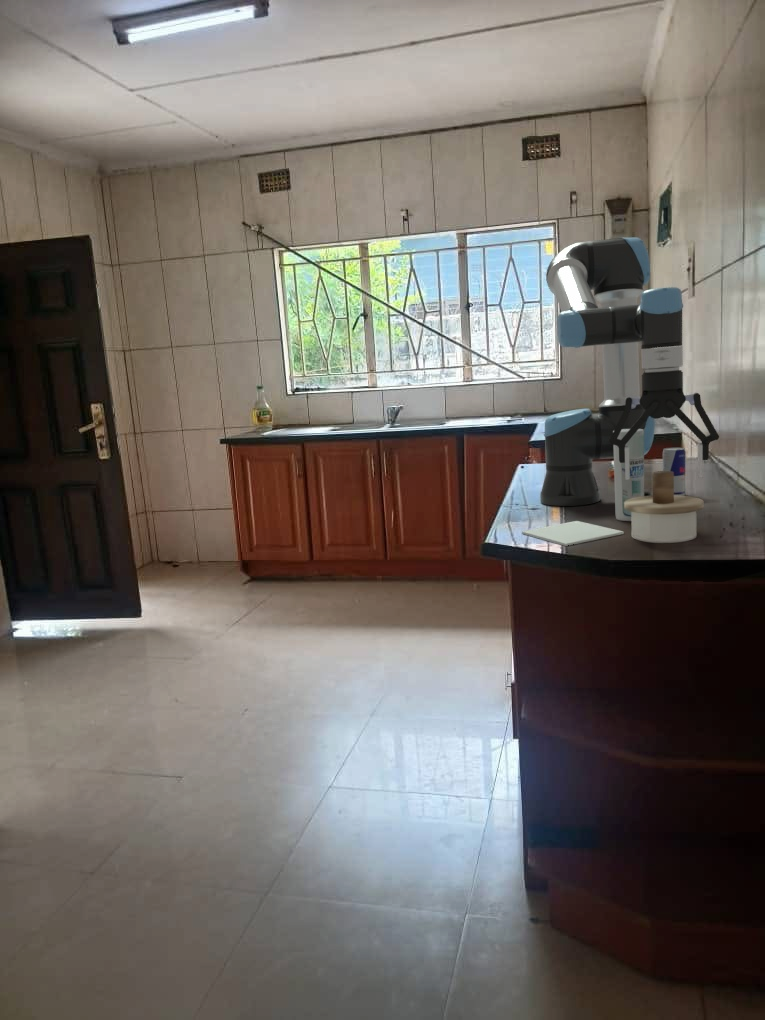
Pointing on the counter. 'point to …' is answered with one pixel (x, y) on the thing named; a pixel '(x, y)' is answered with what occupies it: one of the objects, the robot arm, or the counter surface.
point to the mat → (572, 533)
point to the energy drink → (676, 467)
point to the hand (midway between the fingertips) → (663, 477)
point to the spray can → (636, 481)
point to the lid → (663, 498)
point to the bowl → (663, 527)
